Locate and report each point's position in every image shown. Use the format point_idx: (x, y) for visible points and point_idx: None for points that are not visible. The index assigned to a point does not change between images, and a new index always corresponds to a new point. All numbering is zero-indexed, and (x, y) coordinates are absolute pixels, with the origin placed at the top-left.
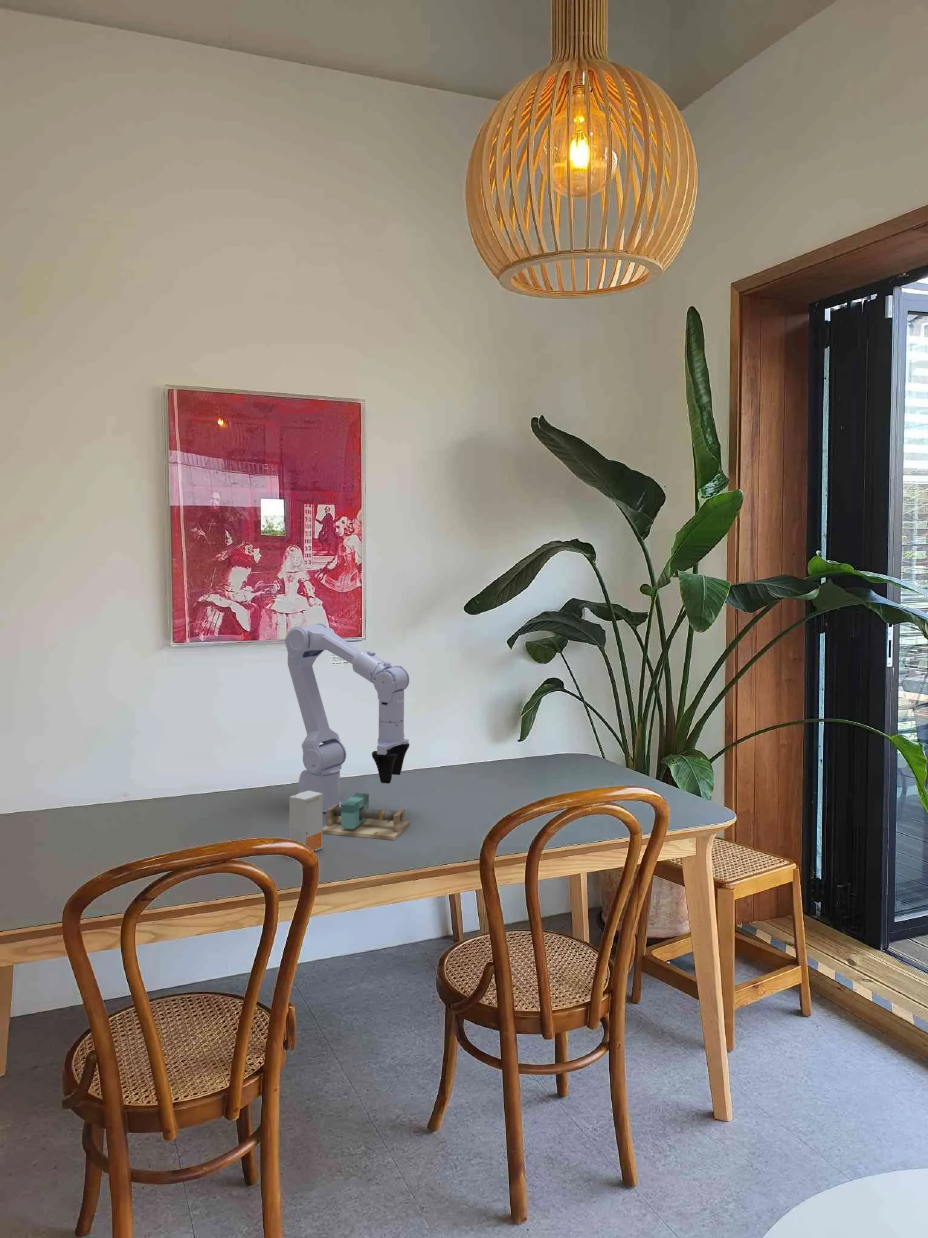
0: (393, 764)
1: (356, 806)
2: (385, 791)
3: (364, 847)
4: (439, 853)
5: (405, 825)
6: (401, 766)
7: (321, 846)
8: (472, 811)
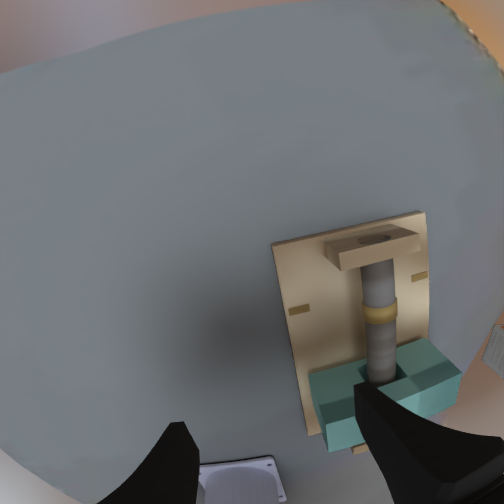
0: (413, 441)
1: (438, 376)
2: (55, 429)
3: (476, 254)
4: (440, 59)
5: (319, 236)
6: (167, 450)
7: (499, 326)
8: (39, 140)
